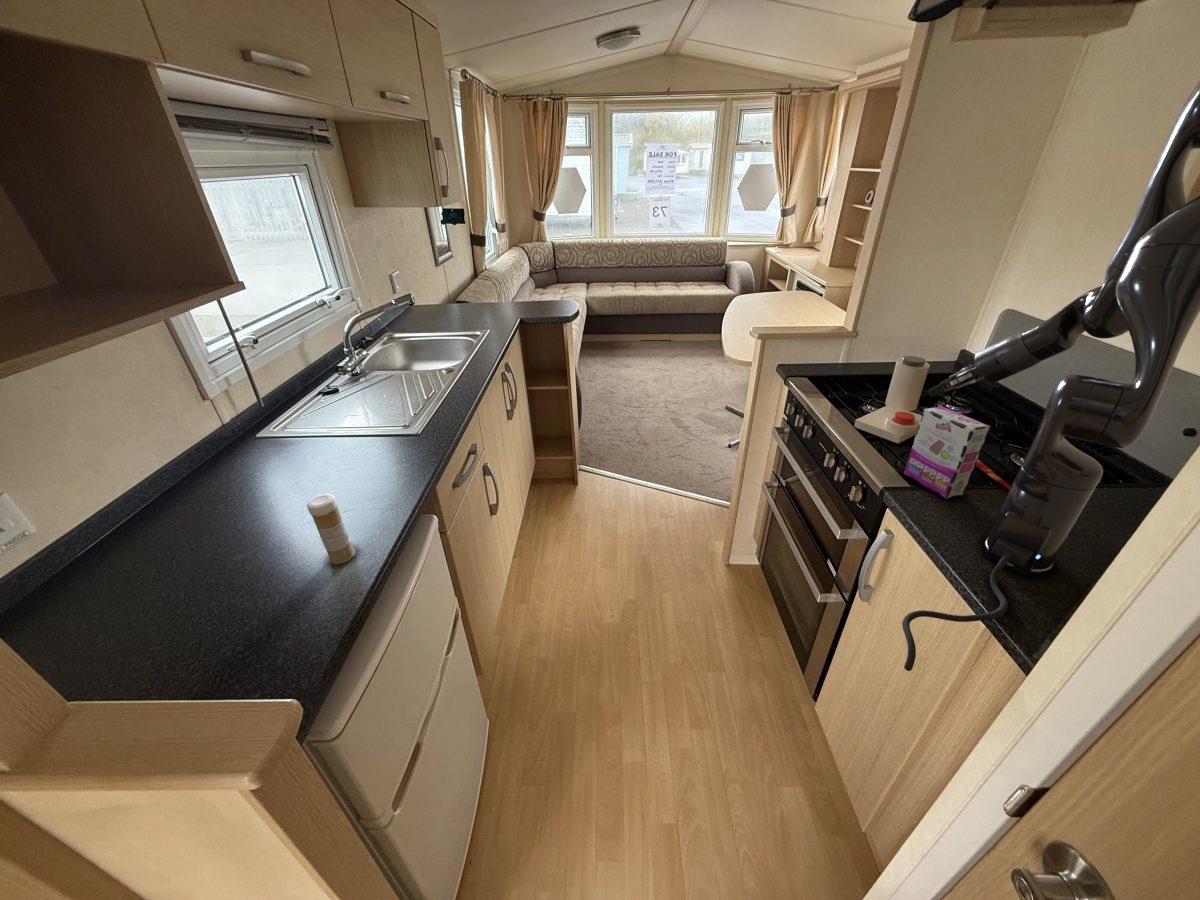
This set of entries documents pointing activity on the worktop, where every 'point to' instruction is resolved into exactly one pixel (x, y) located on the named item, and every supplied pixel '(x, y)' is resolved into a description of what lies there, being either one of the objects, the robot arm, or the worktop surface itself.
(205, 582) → the worktop surface
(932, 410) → the candy bar box
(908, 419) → the switch
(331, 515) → the sprinkles bottle
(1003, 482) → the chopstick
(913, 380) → the white canister
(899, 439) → the cream square base
